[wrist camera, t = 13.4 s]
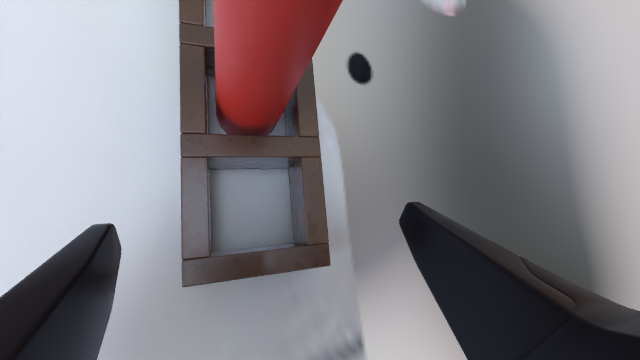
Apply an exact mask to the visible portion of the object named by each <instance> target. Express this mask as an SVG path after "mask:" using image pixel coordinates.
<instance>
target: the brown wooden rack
mask: <svg viewBox="0 0 640 360" xmlns="http://www.w3.org/2000/svg"><path fill="white" fill-rule="evenodd" d="M179 22H180V24H179V39H180V132H181V135H180V140H181V157H182V158H181V240H182V287H190V286H197V285H203V284H210V283H217V282H224V281H230V280H237V279H244V278H250V277H257V276H264V275H271V274H277V273H284V272H291V271H298V270H304V269H311V268H318V267H325V266H330V254H329V244H328V242H329V241H328V230H327V219H326V208H325V196H324V185H323V174H322V163H321V153H320V142H319V131H318V120H317V109H316V97H315V87H314V75H313V64H312V58H311V60H310V62H309V64H308V66H307V68H306V70H305V72H304V73H303V75H302V77H301V79H300V81H299V83H298V85H297V86H296V88H295V90H294V92H293V94H292V96H291V98H290V99H289V101H288V103H287V105H286V107H285V122H286V136H258V135H221V134H209V133H208V95H207V75H211V76H215V45H214V28H212V27H206V20H205V0H179ZM261 168H289V180H290V195H291V209H292V223H293V237H294V243H291V244H282V245H273V246H264V247H255V248H246V249H237V250H228V251H220V252H211V251H212V247H211V209H210V171H209V169H261Z"/></svg>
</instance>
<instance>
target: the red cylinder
mask: <svg viewBox="0 0 640 360" xmlns="http://www.w3.org/2000/svg"><path fill="white" fill-rule="evenodd" d="M342 1H343V0H213V4H214V45H215V87H216V115H217V119H218V122H219V124H220V126H221V127H222V128H223V130H224V131H225V132H226V133H227V134H229V135H258V136H268V135H269V134H270V133H271V132H272V131H273V129H274V127H275V126H276V124H277V122H278V120H279V118H280V116H281V114H282V113H283V111H284V109H285V107H286V105H287V103H288V101H289V99H290V98H291V96H292V94H293V92H294V90H295V88H296V86H297V85H298V83H299V81H300V79H301V77H302V75H303V73H304V72H305V70H306V68H307V66H308V64H309V62H310V60H311V58H312V57H313V55H314V53H315V51H316V49H317V47H318V45H319V44H320V42H321V40H322V38H323V36H324V34H325V32H326V30H327V29H328V27H329V25H330V23H331V21H332V19H333V17H334V16H335V14H336V12H337V10H338V8H339V6H340V4H341V2H342Z"/></svg>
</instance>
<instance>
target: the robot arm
mask: <svg viewBox="0 0 640 360" xmlns="http://www.w3.org/2000/svg"><path fill="white" fill-rule="evenodd" d="M399 224H400V227H401V229H402V232H403V234H404V237H405V239H406V241H407V244H408V246H409V248H410V251H411V253H412V255H413V258H414V260H415V262H416V264H417V266H418V268H419V270H420V272H421V274H422V276H423V277H424V279H425V281H426V283H427V285H428V287H429V289H430V290H431V292H432V294H433V296H434V298H435V300H436V302H437V303H438V305H439V307H440V309H441V311H442V313H443V314H444V316H445V318H446V320H447V322H448V324H449V326H450V328H451V330H452V331H453V333H454V335H455V337H456V339H457V341H458V342H459V344H460V346H461V348H462V350H463V352H464V354H465V356H466V357H467V359H468V360H640V311H637V310H634V309H630V308H627V307H625V306H622V305H619V304H617V303H615V302H612V301H611V300H609V299H607V298H604V297H602V296H600V295H598V294H596V293H594V292H592V291H590V290H587V289H585V288H583V287H581V286H579V285H577V284H575V283H573V282H571V281H569V280H567V279H565V278H563V277H560V276H558V275H556V274H554V273H552V272H550V271H548V270H546V269H544V268H543V267H541V266H539V265H536V264H535V263H533V262H531V261H529V260H527V259H525V258H523V257H521V256H518V255H517V254H515V253H514V252H512V251H509V250H508V249H506V248H504V247H503V246H501V245H499V244H497V243H495V242H493V241H491V240H489V239H487V238H486V237H484V236H482V235H480V234H478V233H476V232H474V231H472V230H470V229H469V228H466V227H465V226H463V225H461V224H459V223H457V222H455V221H454V220H452V219H450V218H448V217H446V216H444V215H442V214H440V213H438V212H437V211H435V210H433V209H431V208H429V207H427V206H425V205H423V204H421V203H419V202H409V203H407V204H406V206H405V208H404V210H403V212H402V215H401V217H400V220H399ZM120 258H121V244H120V241H119V238H118V235H117V232H116V228H115V226H114V225H113V224H111V223H108V224H95V225H92V226H90V227H89V228H88V229H86V230H85V231H84V232H83V233H81V234H80V235H79V236H78V237H76V238H75V239H74V240H72V241H71V242H70V243H69V244H67V245H66V246H65V247H64V248H62V249H61V250H60V251H58V252H57V253H56V254H55V255H53V256H52V257H51V258H50V259H48V260H47V261H46V262H45V263H43V264H42V265H41V266H39V267H38V268H37V269H36V270H34V271H33V272H32V273H31V274H29V275H28V276H27V277H25V278H24V279H23V280H22V281H20V282H19V283H18V284H17V285H15V286H14V287H13V288H11V289H10V290H9V291H8V292H6V293H5V294H4V295H3V296H1V297H0V360H97V357H98V354H99V350H100V347H101V344H102V341H103V337H104V334H105V331H106V327H107V324H108V321H109V317H110V314H111V310H112V304H113V299H114V293H115V287H116V281H117V275H118V270H119V264H120Z"/></svg>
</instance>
